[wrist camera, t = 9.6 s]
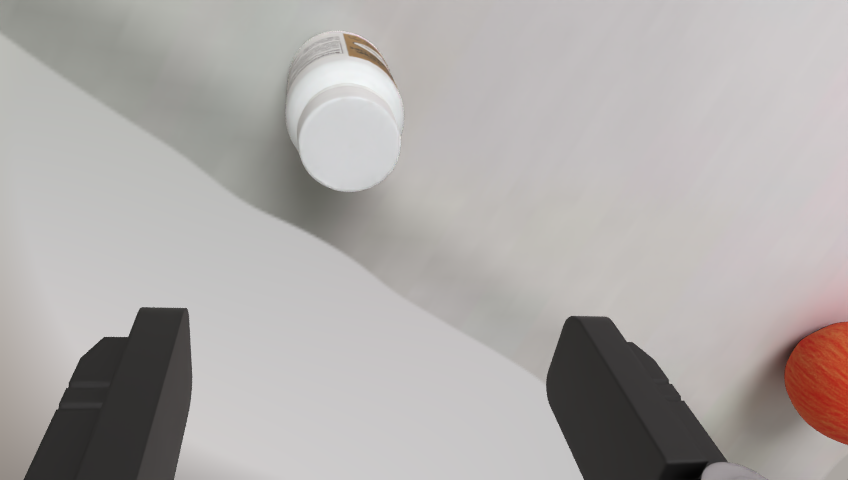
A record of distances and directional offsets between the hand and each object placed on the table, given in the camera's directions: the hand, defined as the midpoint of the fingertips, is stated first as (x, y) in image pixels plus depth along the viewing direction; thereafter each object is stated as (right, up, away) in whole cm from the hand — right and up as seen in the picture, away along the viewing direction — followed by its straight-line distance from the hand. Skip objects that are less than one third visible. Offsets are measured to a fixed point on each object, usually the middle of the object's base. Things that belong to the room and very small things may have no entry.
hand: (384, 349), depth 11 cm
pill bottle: (-3, +9, +15) cm, 18 cm away
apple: (+28, -5, +30) cm, 41 cm away
